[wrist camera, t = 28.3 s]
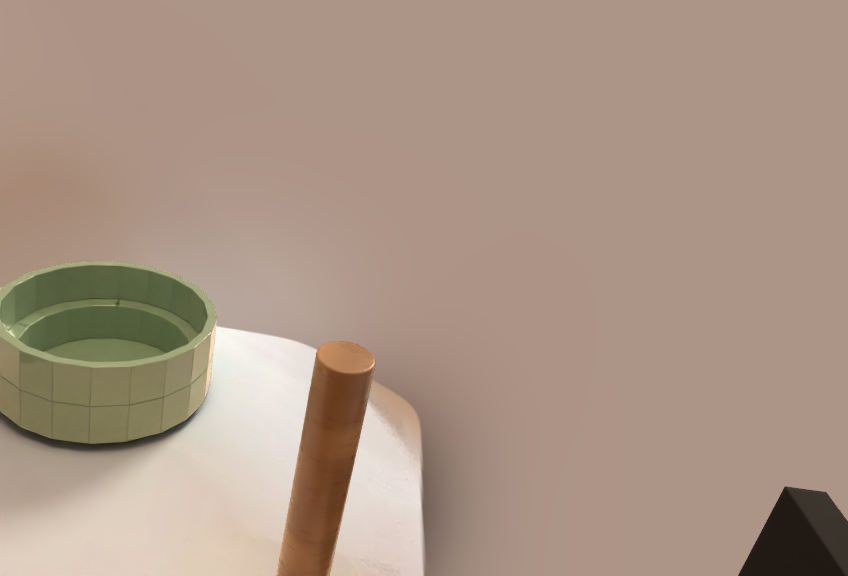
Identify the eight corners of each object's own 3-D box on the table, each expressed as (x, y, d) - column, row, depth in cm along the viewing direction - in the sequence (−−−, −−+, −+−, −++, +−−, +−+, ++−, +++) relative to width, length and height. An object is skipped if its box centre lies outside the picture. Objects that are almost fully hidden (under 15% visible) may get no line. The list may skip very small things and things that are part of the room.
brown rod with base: (339, 635, 39) (411, 332, 31) (334, 732, 34) (416, 406, 27) (236, 625, 38) (285, 312, 31) (218, 722, 34) (269, 384, 26)
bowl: (223, 350, 59) (231, 279, 56) (184, 464, 47) (192, 382, 45) (39, 322, 57) (39, 248, 55) (-49, 434, 45) (-55, 346, 43)
